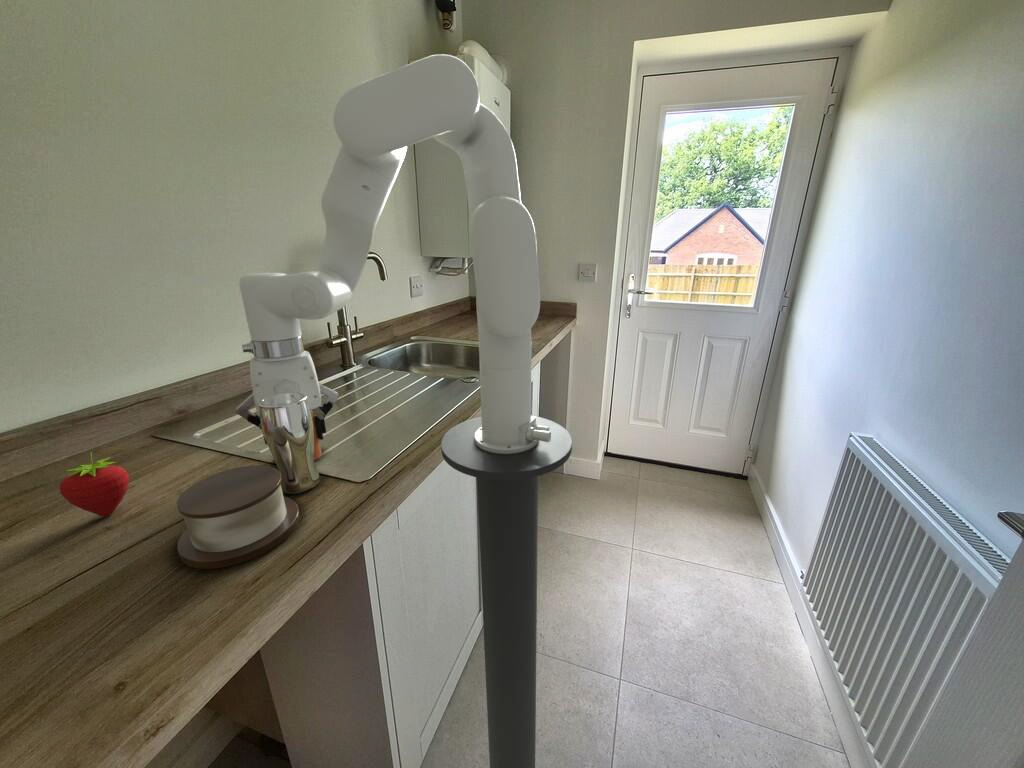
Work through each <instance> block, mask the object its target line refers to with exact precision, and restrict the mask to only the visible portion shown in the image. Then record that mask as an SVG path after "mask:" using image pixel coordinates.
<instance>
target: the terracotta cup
mask: <svg viewBox="0 0 1024 768" xmlns="http://www.w3.org/2000/svg"><path fill="white" fill-rule="evenodd" d="M310 411H311V415H312V420H313V427H314V462H315V461H316V460H319V458H321V456H322V453H323V452H322V445H321V440H320V439H319V436H318V430H317V425H316V417H315V416H316V415H315V414H314V413H313V411H312V410H310Z"/></svg>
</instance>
